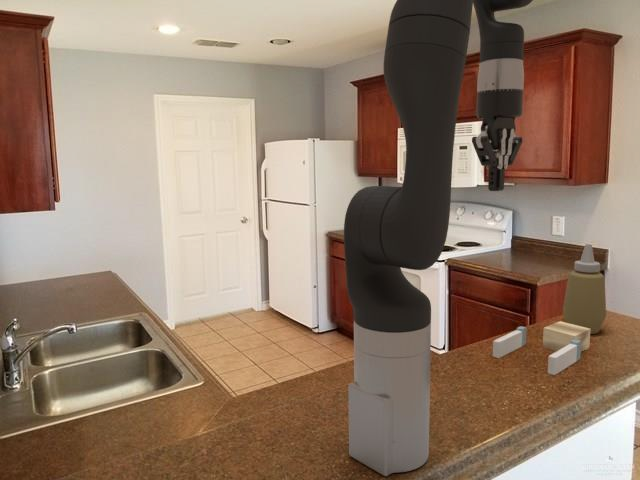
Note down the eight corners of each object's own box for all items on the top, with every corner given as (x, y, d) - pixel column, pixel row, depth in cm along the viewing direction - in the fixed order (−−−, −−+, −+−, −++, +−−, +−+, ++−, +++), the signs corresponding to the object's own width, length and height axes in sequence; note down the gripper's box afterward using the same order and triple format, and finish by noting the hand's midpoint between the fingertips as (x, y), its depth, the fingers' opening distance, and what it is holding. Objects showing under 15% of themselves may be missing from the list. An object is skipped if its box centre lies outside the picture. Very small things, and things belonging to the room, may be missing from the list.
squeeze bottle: (594, 339, 103) (600, 250, 100) (554, 329, 109) (559, 244, 106) (611, 330, 108) (618, 244, 105) (572, 321, 114) (577, 240, 111)
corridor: (554, 375, 87) (555, 355, 87) (492, 356, 96) (493, 338, 95) (580, 359, 94) (581, 340, 93) (519, 342, 102) (520, 326, 101)
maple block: (573, 357, 95) (575, 336, 95) (542, 347, 100) (543, 327, 99) (589, 349, 99) (590, 328, 98) (558, 340, 103) (559, 321, 103)
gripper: (499, 84, 83) (494, 194, 85) (539, 89, 91) (534, 189, 94) (458, 89, 88) (455, 192, 91) (500, 94, 97) (497, 188, 100)
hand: (496, 190), depth 92 cm, fingers closed
